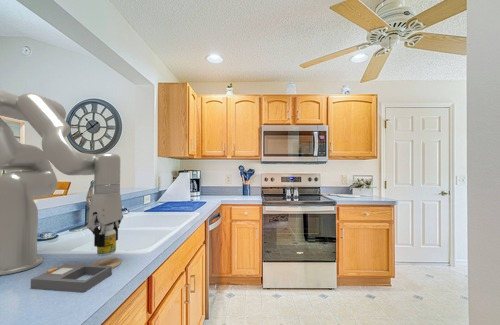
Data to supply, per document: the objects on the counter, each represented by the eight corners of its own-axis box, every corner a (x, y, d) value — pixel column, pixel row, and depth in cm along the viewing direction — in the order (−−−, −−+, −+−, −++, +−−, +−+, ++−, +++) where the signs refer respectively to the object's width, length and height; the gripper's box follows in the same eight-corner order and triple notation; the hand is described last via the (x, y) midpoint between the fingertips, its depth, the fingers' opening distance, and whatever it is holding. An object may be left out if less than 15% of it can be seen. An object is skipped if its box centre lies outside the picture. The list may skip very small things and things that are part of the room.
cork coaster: (82, 270, 71) (82, 268, 71) (103, 259, 80) (103, 257, 80) (107, 271, 70) (107, 269, 70) (126, 260, 79) (126, 258, 79)
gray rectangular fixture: (30, 288, 61) (30, 277, 61) (65, 271, 70) (65, 262, 71) (83, 292, 59) (84, 281, 59) (111, 274, 69) (111, 265, 69)
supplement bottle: (115, 249, 79) (115, 222, 80) (116, 254, 75) (116, 225, 75) (97, 252, 76) (97, 224, 77) (96, 257, 72) (97, 227, 72)
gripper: (115, 187, 85) (114, 235, 85) (75, 192, 68) (73, 252, 68) (133, 187, 84) (132, 236, 84) (97, 192, 67) (96, 253, 67)
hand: (106, 242), depth 76 cm, fingers closed on supplement bottle, 5 cm apart
